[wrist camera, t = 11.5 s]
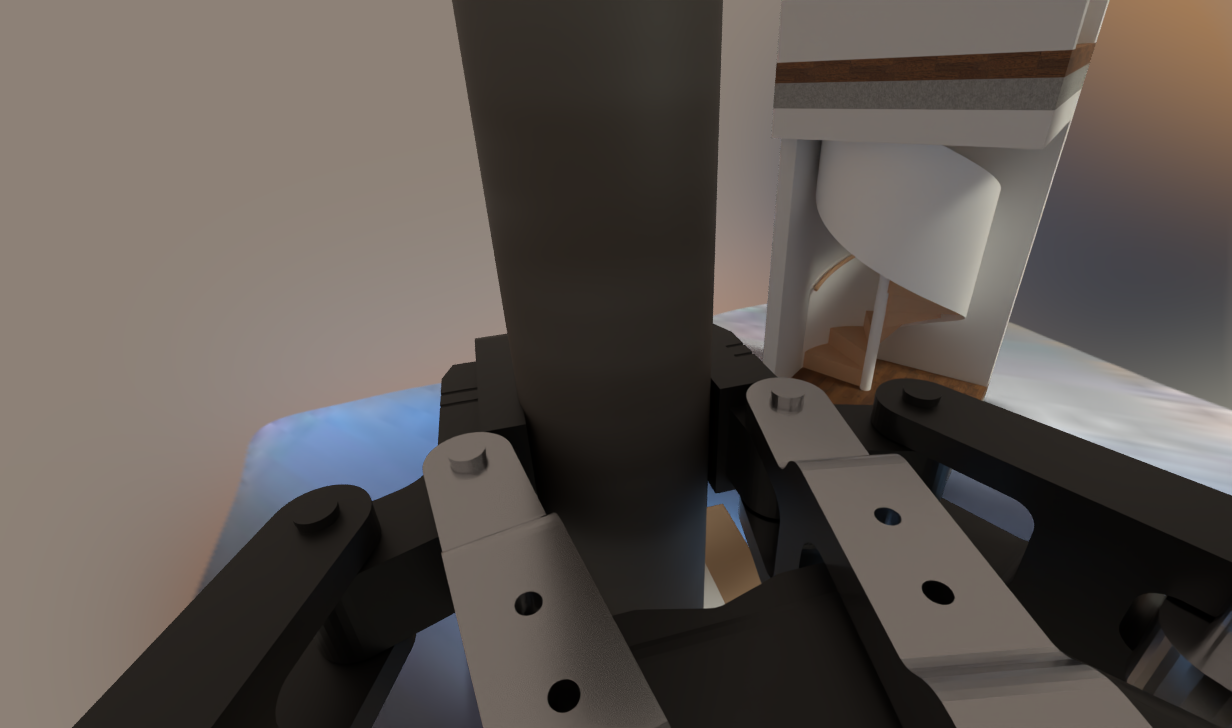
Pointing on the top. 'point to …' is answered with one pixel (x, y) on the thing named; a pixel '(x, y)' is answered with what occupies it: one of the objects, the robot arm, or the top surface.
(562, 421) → the knob-topped lever
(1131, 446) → the top surface
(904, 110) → the display case
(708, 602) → the press base
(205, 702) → the robot arm
